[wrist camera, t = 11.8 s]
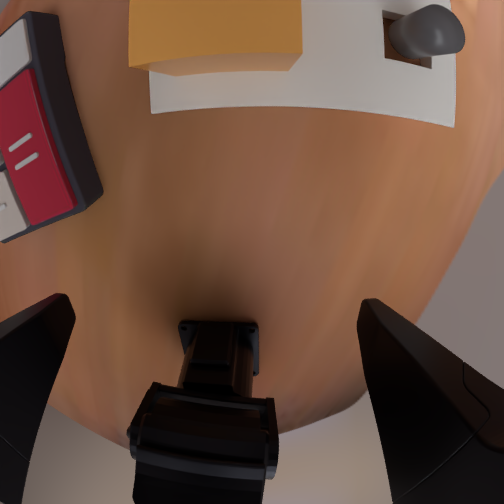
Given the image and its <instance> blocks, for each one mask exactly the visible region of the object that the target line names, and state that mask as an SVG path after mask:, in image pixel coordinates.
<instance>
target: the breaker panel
mask: <svg viewBox="0 0 504 504" xmlns="http://www.w3.org/2000/svg"><path fill="white" fill-rule="evenodd" d="M431 4H438V5H441V6H444V7H445V8H447V9H449V10H450V11H451V4H450V0H301V9H302V41H303V54H302V55H301V56H300V58H299V59H298V60H297V61H296V62H295V64H294V65H293V66H292V67H291V69H290V70H289V71H236V72H217V73H204V74H193V75H184V76H176V77H175V76H171V75H166V74H162V73H157V72H152V71H149V83H150V103H151V114H156V113H163V112H172V111H181V110H192V109H204V108H220V107H244V106H290V107H314V108H329V109H342V110H352V111H361V112H370V113H377V114H385V115H391V116H398V117H404V118H409V119H415V120H420V121H425V122H430V123H435V124H439V125H444V126H448V127H452V128H454V121H455V102H456V59H455V53H454V54H446V55H439V56H432V57H426V58H420V66H418V65H414V64H410V63H405V62H401V61H396V60H392V59H387V58H384V33H383V18H387V19H392V20H398V19H400V18H402V17H404V16H406V15H408V14H410V13H412V12H414V11H417V10H419V9H421V8H423V7H425V6H428V5H431ZM382 17H383V18H382Z"/></svg>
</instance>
